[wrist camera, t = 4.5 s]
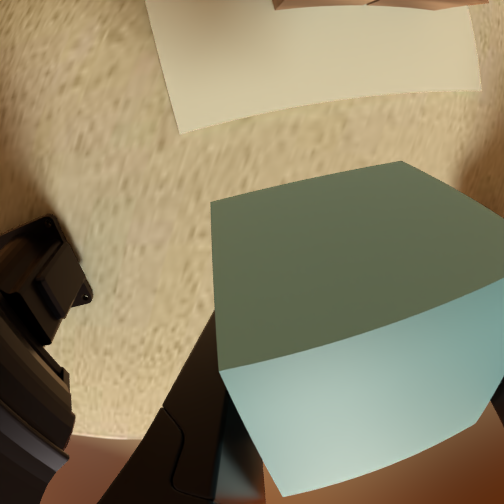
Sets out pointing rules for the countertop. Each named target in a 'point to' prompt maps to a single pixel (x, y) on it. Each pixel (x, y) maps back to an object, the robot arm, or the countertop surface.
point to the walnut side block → (315, 3)
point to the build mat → (303, 55)
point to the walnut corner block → (426, 3)
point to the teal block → (356, 318)
